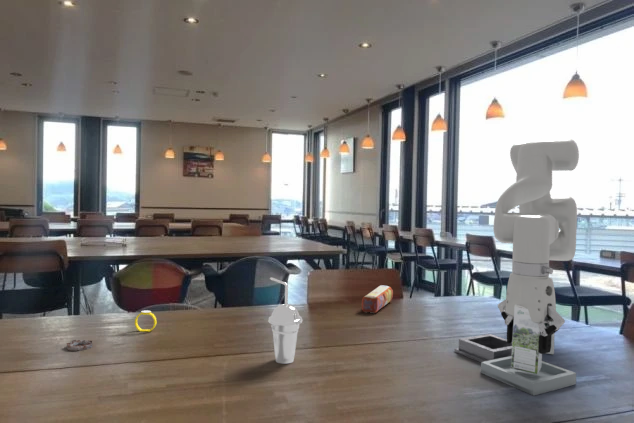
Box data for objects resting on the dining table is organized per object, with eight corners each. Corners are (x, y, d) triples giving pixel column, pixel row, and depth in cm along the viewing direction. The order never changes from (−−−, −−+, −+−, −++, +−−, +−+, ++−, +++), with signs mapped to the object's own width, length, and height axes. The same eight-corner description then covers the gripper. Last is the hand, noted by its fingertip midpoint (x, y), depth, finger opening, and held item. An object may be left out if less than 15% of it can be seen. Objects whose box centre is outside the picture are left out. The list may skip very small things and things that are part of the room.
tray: (521, 363, 114) (521, 353, 114) (575, 384, 102) (576, 373, 102) (480, 372, 108) (481, 362, 107) (533, 395, 95) (534, 383, 95)
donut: (95, 353, 118) (94, 345, 118) (60, 357, 115) (60, 349, 115) (96, 343, 126) (96, 335, 126) (63, 346, 123) (63, 339, 123)
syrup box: (541, 368, 106) (545, 304, 105) (537, 375, 101) (541, 308, 100) (515, 362, 109) (518, 300, 109) (509, 368, 104) (513, 304, 104)
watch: (156, 330, 138) (158, 311, 138) (153, 333, 135) (155, 313, 135) (136, 329, 138) (138, 309, 137) (133, 331, 135) (134, 311, 135)
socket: (489, 345, 129) (489, 332, 128) (529, 359, 117) (530, 346, 117) (454, 351, 122) (454, 338, 122) (493, 367, 111) (494, 353, 111)
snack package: (377, 314, 162) (378, 295, 162) (359, 312, 165) (360, 293, 165) (393, 302, 182) (393, 285, 181) (376, 301, 184) (377, 284, 184)
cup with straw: (275, 368, 108) (276, 283, 107) (261, 356, 116) (262, 277, 115) (307, 363, 112) (309, 281, 111) (292, 352, 120) (293, 275, 119)
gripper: (577, 274, 98) (575, 356, 99) (509, 263, 114) (507, 334, 114) (555, 277, 95) (552, 362, 95) (487, 265, 110) (485, 338, 111)
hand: (527, 346), depth 105 cm, fingers closed on syrup box, 7 cm apart
